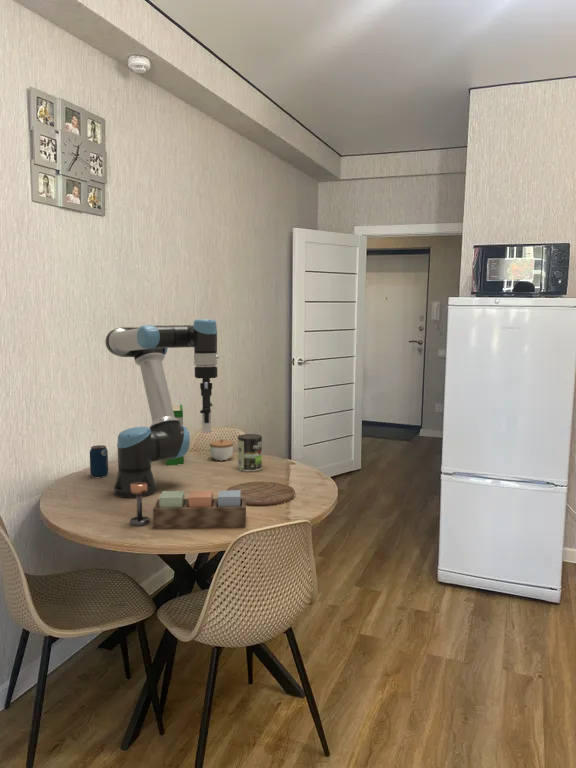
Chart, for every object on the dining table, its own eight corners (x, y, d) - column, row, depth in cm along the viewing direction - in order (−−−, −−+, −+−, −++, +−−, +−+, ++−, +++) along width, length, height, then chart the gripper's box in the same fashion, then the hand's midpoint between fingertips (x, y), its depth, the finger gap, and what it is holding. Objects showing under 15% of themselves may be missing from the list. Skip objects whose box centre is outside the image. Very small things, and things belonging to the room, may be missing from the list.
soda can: (111, 475, 233) (110, 446, 232) (95, 479, 228) (94, 449, 227) (103, 472, 238) (102, 444, 237) (87, 475, 233) (86, 446, 232)
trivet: (309, 497, 208) (309, 491, 207) (256, 512, 191) (256, 506, 190) (264, 482, 226) (264, 477, 226) (212, 495, 209) (212, 490, 209)
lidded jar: (232, 462, 256) (232, 441, 255) (208, 462, 256) (208, 441, 255) (234, 456, 267) (234, 436, 266) (211, 456, 267) (211, 436, 266)
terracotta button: (188, 510, 176) (188, 497, 176) (191, 503, 183) (191, 490, 182) (211, 509, 177) (211, 497, 176) (212, 502, 183) (212, 490, 183)
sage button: (159, 510, 176) (159, 497, 175) (163, 503, 182) (162, 491, 182) (181, 510, 176) (181, 497, 176) (184, 503, 183) (184, 491, 182)
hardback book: (166, 456, 267) (165, 405, 265) (182, 455, 269) (182, 404, 266) (166, 465, 250) (165, 411, 248) (183, 464, 252) (182, 410, 249)
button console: (153, 528, 174) (152, 509, 174) (158, 517, 184) (158, 499, 184) (245, 526, 176) (245, 507, 175) (246, 515, 186) (245, 497, 185)
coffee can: (266, 467, 248) (266, 435, 246) (253, 472, 239) (253, 439, 237) (246, 464, 253) (246, 433, 251) (233, 469, 244) (233, 437, 242)
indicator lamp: (128, 526, 176) (127, 487, 175) (132, 519, 182) (131, 481, 181) (147, 526, 176) (147, 486, 175) (151, 519, 182) (150, 481, 181)
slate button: (218, 509, 177) (217, 497, 176) (219, 502, 183) (219, 490, 183) (240, 509, 177) (240, 496, 177) (240, 502, 184) (240, 490, 183)
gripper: (217, 368, 179) (218, 435, 181) (216, 363, 203) (217, 422, 205) (193, 368, 178) (194, 436, 180) (195, 363, 202) (196, 423, 204)
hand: (206, 429), depth 193 cm, fingers open, 13 cm apart
